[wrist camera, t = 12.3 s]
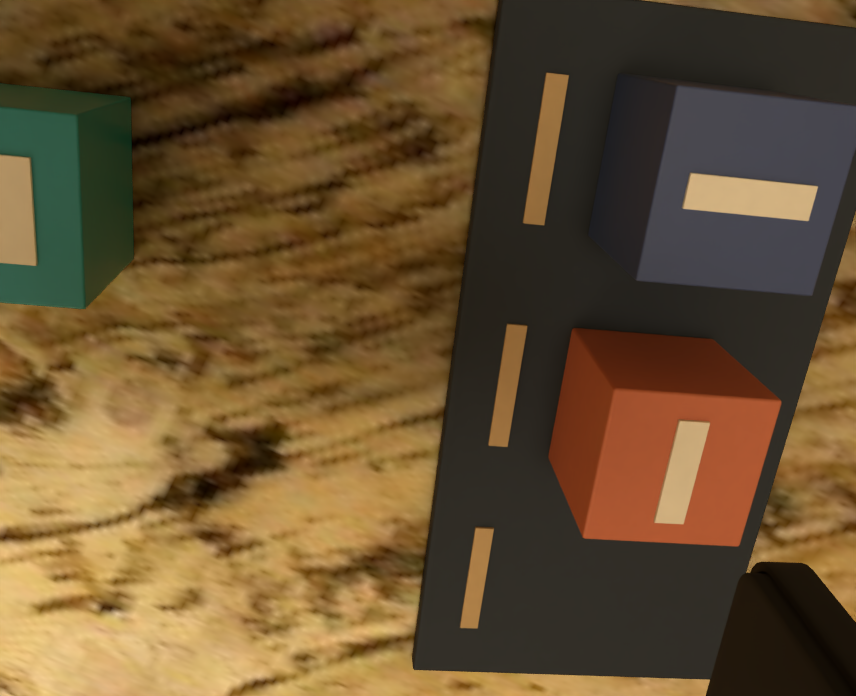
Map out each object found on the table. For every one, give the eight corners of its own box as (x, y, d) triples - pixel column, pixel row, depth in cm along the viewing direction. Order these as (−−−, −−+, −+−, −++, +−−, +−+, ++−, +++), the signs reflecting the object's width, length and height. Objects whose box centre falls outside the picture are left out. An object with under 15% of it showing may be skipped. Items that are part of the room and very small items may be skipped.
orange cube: (571, 326, 24) (615, 390, 20) (713, 338, 25) (785, 402, 20) (547, 457, 26) (583, 542, 22) (681, 466, 26) (742, 550, 22)
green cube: (-47, 77, 21) (-147, 91, 17) (131, 96, 21) (76, 115, 17) (-31, 245, 23) (-120, 295, 18) (134, 259, 23) (84, 311, 19)
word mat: (500, -16, 21) (505, -18, 20) (896, 34, 22) (912, 34, 22) (411, 658, 29) (413, 672, 28) (707, 668, 30) (715, 682, 30)
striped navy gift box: (617, 72, 22) (678, 84, 17) (775, 90, 22) (871, 106, 18) (587, 236, 23) (636, 282, 19) (734, 249, 24) (815, 298, 19)
